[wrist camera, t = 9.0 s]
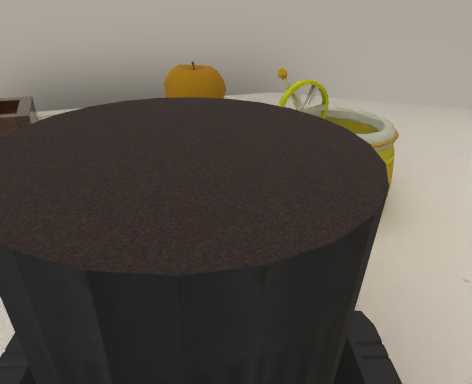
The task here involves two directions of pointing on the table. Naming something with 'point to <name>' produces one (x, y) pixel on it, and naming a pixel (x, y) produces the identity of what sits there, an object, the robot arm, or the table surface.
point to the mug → (347, 119)
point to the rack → (16, 114)
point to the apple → (194, 82)
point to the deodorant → (185, 242)
